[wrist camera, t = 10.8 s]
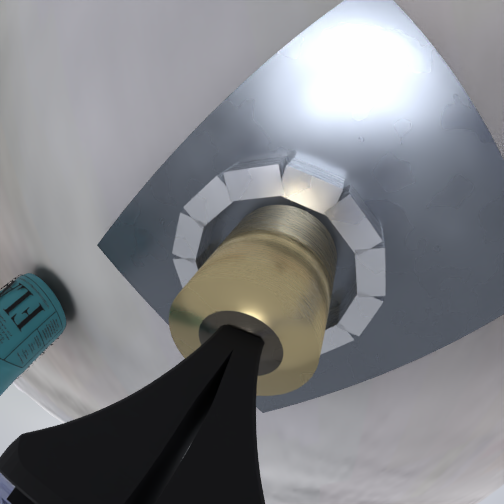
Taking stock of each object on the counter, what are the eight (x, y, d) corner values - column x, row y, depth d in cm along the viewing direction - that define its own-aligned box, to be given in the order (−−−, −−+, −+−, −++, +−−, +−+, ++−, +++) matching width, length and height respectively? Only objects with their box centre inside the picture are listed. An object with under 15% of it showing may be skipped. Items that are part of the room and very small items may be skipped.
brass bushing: (350, 223, 13) (342, 310, 8) (320, 313, 16) (295, 411, 11) (238, 192, 14) (168, 256, 9) (225, 283, 17) (170, 366, 12)
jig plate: (539, 275, 12) (557, 302, 10) (266, 402, 22) (257, 429, 20) (372, -12, 9) (375, -32, 7) (107, 238, 19) (81, 256, 17)
